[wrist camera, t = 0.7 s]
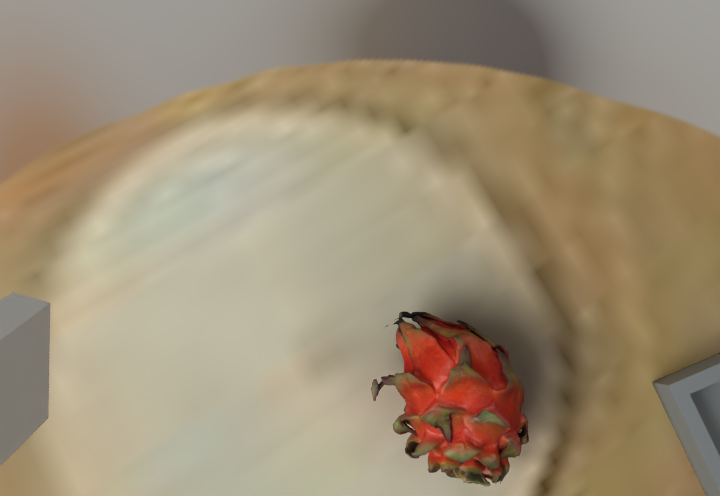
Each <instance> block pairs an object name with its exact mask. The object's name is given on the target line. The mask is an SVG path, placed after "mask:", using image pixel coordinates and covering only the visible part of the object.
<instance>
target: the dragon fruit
mask: <svg viewBox="0 0 720 496" xmlns="http://www.w3.org/2000/svg"><path fill="white" fill-rule="evenodd" d="M399 317H400V318H398V319H399V320H398V321H397V322H395V323H394V324H398V325H399V326H398V327H399V328H398V329H397V332H396V342H397V344H396V346H397V348H399V349H400V350H401V353H402V355H403V359H404V373H401V374H399V373H397V374H395V376H393V375H389V376H385V377H381V379H382V382H381V383H380V384H378V382H377V380H376V379H374V380H373V383H372V388H371V390H372V395H373V400H374V401H375V400H376V396H378V392H379V390H380V389H381V388H382V386H383V385H384V384H385V385H394V386H395V387H396V388H397V390H398V392H399V393H400V395H401V396H402V397H403V398H404V399H405V401H406V406H405V408H404V411H405V413H404V414H403V415H401V416H399V417H398V418H397V419H396V421H395V423H394V424H393V428H394V431H395V432H396V433H397V434H404V433H407V432H410V433H412V434H411V435H410V437H409V438H408V440H407V443H406V448H405V452H406V454H408V455H409V456H410V457H411V458H419V456H421V455H425V454H427V453H428V452H429V455H428V466H429V469H428V470H429V473H430V472H431V473H433V472H437V471H438V470H439V469H440V468H441V471H442V472H445V473H446V475H448V476H449V477H455V478H460V479H462V480H463V481H464V482H463V483H465V482H466V483H472V482H473V483H475V484H482V485H484V486H490V483H489V482H488V481H487V480H486V479H485V478H489V479H491V480H492V482H493V483H495V482H496V481H497V482H499V481H500V480H501V481H502V480H503V478H504V477H505V475H506V474H507V473H508V471H509V467H510V466H509V462H508V457H516V456H519V455H520V452H521V444H526V443H527V442H528V441H529V437H528V421H527V418H526V416H525V414H522V413H521V412H520V410H521V406H522V404H523V402H524V390H523V386H522V384H521V382H520V381H519V379H518V378H517V377H516V376H515V374H514V373H513V371H512V369H511V367H510V363H509V358H508V351H507V350H506V349H505V348H503V347H502V346H500V345H495V344H494V343H493V342H492V341H490V340H489V339H488V338H486V337H485V336H484V335H482V334H481V333H479V332H478V331H476V330H475V329H474V328H473V327H472V328H473V329H472V328H471V326H470V325H469V326H470V327H469V326H468V324H466V323H464V322H462V321H459V320H458V321H457V322H458V323H460V324H455V323H452V322H447V321H444V320H441V319H439V318H437V317H435V316H433V315H431V314H428V313H426V312H413V313H411V314H410V313H408V312H400V313H399ZM402 317H406V318H412V320H413V321H414V322H417V323H418V324H419V325H420V327H421V329H419V328H416V327H415V326H414V325H413V324H410V323H407V322H405V321H404V320H403V319H402ZM392 325H393V324H392ZM385 327H387V326H385ZM469 329H470V330H471V331H469ZM406 423H407V424H409V425H411V426H412V427H413V428H414V429H415V431H414V430H413V429H412V428H410V427H409V426H408V425H407V424H406ZM521 429H522V431H521V433H519V431H520V430H521ZM517 434H518V435H517ZM498 478H499V479H498ZM497 482H496V483H497ZM500 484H501V482H500Z"/></svg>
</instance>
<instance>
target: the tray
mask: <svg viewBox="0 0 720 496" xmlns="http://www.w3.org/2000/svg"><path fill="white" fill-rule="evenodd" d="M652 383H653V385H654V387H655V389H656V391H657V393H658V395H659V397H660V400H661V402H662V404H663V406H664V408H665V410H666V412H667V414H668V416H669V418H670V420H671V423H672V425H673V427H674V429H675V431H676V433H677V435H678V437H679V439H680V441H681V444H682V446H683V448H684V450H685V452H686V454H687V456H688V458H689V460H690V462H691V464H692V467H693V469H694V471H695V473H696V475H697V477H698V479H699V481H700V483H701V485H702V487H703V490H704V492H705V494H706V496H720V353H719V354H717V355H715V356H712V357H710V358H708V359H705V360H703V361H701V362H698V363H696V364H694V365H691V366H689V367H687V368H684V369H682V370H680V371H677V372H675V373H673V374H671V375H668V376H666V377H664V378H661V379H659V380H657V381H654V382H652Z"/></svg>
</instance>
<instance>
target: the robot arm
mask: <svg viewBox="0 0 720 496" xmlns="http://www.w3.org/2000/svg"><path fill="white" fill-rule="evenodd" d="M49 344H50V303H49V302H46V301H42V300H38V299H35V298H31V297H28V296H24V295H20V294H17V293H13V292H12V293H11V294H9V295H8V296H6V297H5V298H3V299H2V300H0V466H1V465H2V464H3V463H4V462H5V461H6V460H7V459H8V458H9V457H10V456H11V455H12V454H13V453H14V452H15V451H16V450H17V449H18V448H19V447H20V446H21V445H22V444H23V443H24V442H25V441H26V440H27V439H28V438H29V437H30V436H31V435H32V434H33V433H34V432H35V431H36V430H37V429H38V428H39V427H40V426H41V425H42V424H43V423H44V422H45V421H46V420H47V419H48V401H49Z"/></svg>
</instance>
